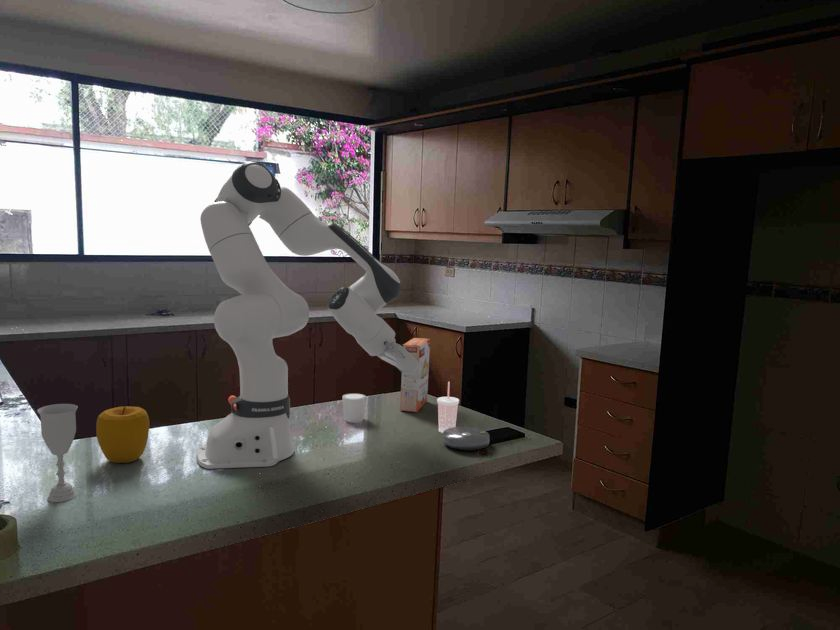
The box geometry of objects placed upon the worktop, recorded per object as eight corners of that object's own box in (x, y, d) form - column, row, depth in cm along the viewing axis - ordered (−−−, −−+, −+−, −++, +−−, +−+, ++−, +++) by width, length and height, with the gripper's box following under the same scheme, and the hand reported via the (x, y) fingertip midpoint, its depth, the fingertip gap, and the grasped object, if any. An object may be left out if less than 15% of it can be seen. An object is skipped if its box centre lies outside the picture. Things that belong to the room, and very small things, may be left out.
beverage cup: (460, 429, 172) (462, 380, 170) (454, 435, 166) (456, 385, 164) (439, 426, 174) (441, 378, 172) (433, 432, 168) (434, 382, 166)
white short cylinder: (364, 423, 174) (364, 399, 173) (340, 422, 174) (340, 398, 173) (366, 416, 181) (367, 393, 180) (343, 415, 181) (344, 392, 180)
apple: (98, 473, 133) (96, 416, 132) (96, 456, 143) (93, 403, 141) (153, 464, 139) (152, 410, 137) (147, 449, 148) (145, 398, 146)
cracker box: (418, 413, 185) (420, 345, 182) (399, 411, 187) (401, 344, 184) (428, 401, 199) (430, 338, 196) (410, 399, 200) (412, 336, 197)
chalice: (87, 497, 122) (83, 409, 119) (49, 507, 116) (44, 416, 114) (73, 486, 126) (70, 401, 124) (36, 495, 121) (31, 408, 119)
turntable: (454, 455, 151) (455, 443, 151) (435, 439, 162) (435, 428, 162) (497, 450, 155) (497, 439, 155) (476, 435, 166) (476, 424, 166)
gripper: (402, 336, 149) (437, 373, 154) (372, 324, 167) (403, 357, 173) (385, 355, 148) (420, 391, 153) (356, 341, 166) (389, 374, 171)
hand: (411, 373), depth 163 cm, fingers open, 8 cm apart
